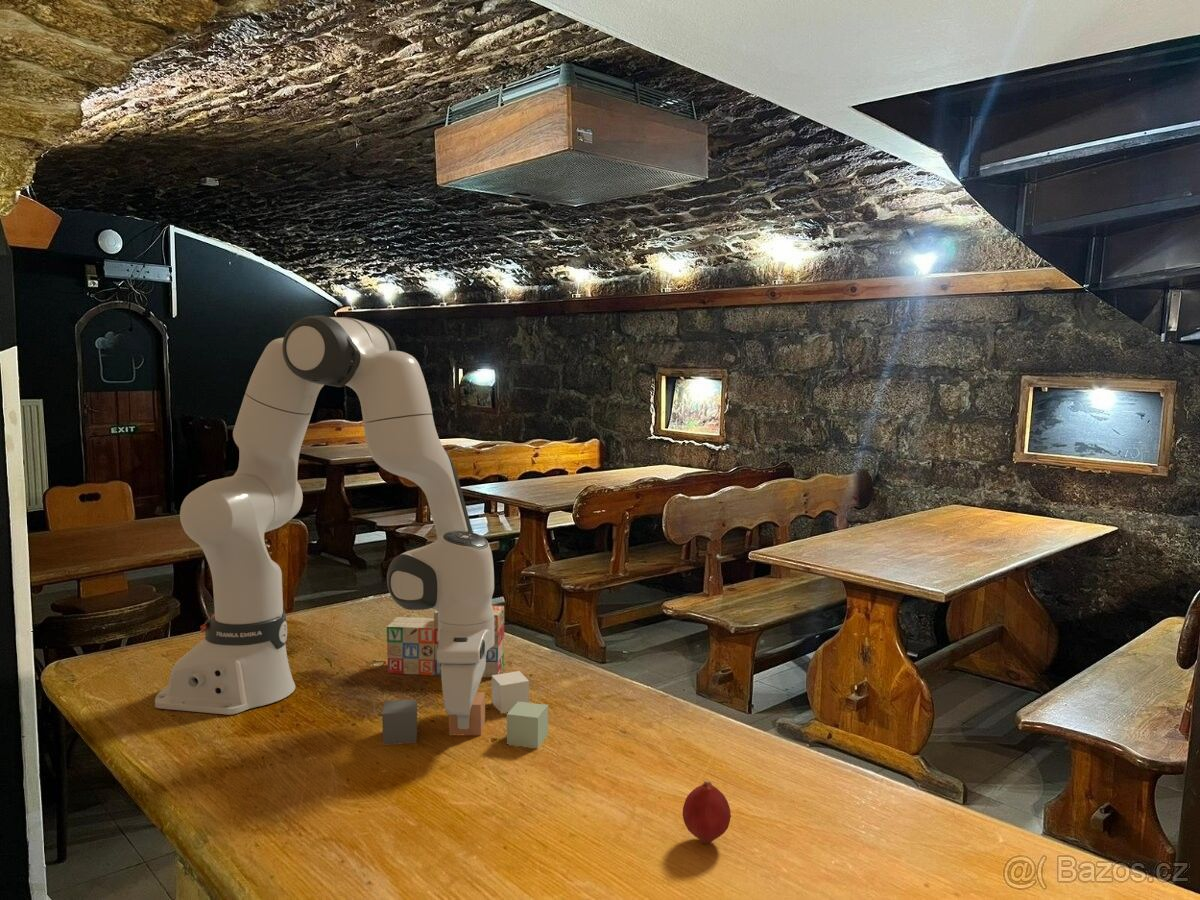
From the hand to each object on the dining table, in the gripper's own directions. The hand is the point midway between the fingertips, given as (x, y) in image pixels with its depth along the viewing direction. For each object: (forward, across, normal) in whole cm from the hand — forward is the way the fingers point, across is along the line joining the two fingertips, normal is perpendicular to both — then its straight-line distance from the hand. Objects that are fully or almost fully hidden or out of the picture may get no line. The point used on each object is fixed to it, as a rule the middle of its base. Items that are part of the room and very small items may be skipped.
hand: (467, 718), depth 134 cm
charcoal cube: (+2, +3, -10) cm, 11 cm away
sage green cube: (+2, +4, +10) cm, 11 cm away
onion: (+2, +32, +34) cm, 47 cm away
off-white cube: (+2, -9, +6) cm, 11 cm away
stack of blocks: (+2, -26, -8) cm, 27 cm away
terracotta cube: (+2, 0, 0) cm, 2 cm away
